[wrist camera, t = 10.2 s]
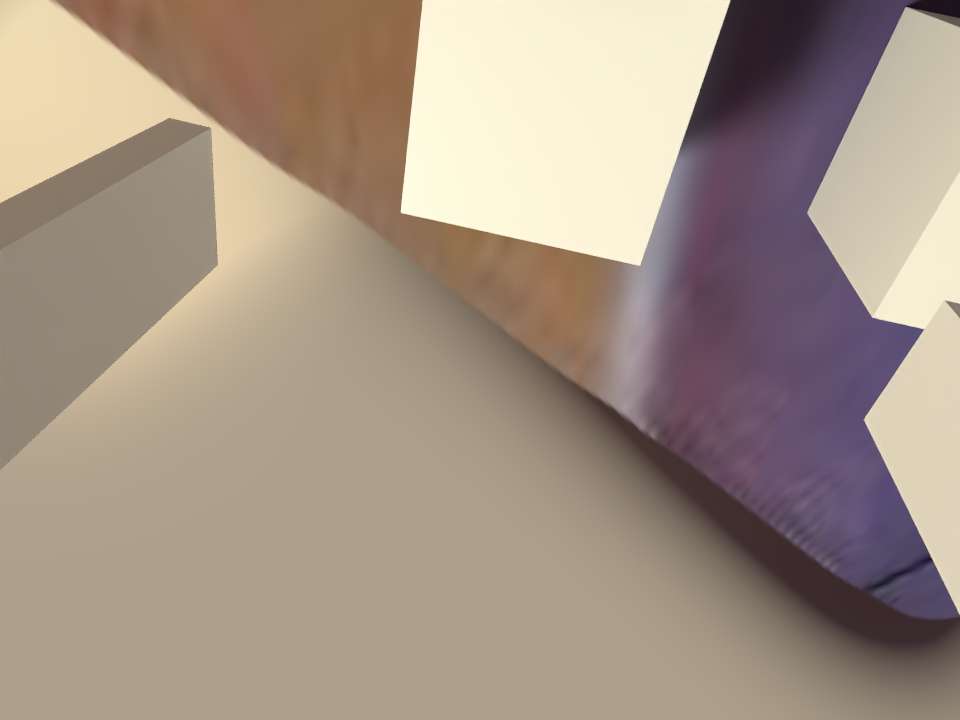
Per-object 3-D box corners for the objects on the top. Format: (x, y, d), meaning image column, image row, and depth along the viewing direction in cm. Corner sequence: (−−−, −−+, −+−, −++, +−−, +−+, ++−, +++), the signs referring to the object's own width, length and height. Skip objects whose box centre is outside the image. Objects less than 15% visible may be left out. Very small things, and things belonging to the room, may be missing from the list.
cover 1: (481, -82, 25) (430, -72, 18) (696, -37, 25) (733, -9, 18) (450, 135, 30) (400, 212, 23) (631, 174, 30) (640, 265, 23)
